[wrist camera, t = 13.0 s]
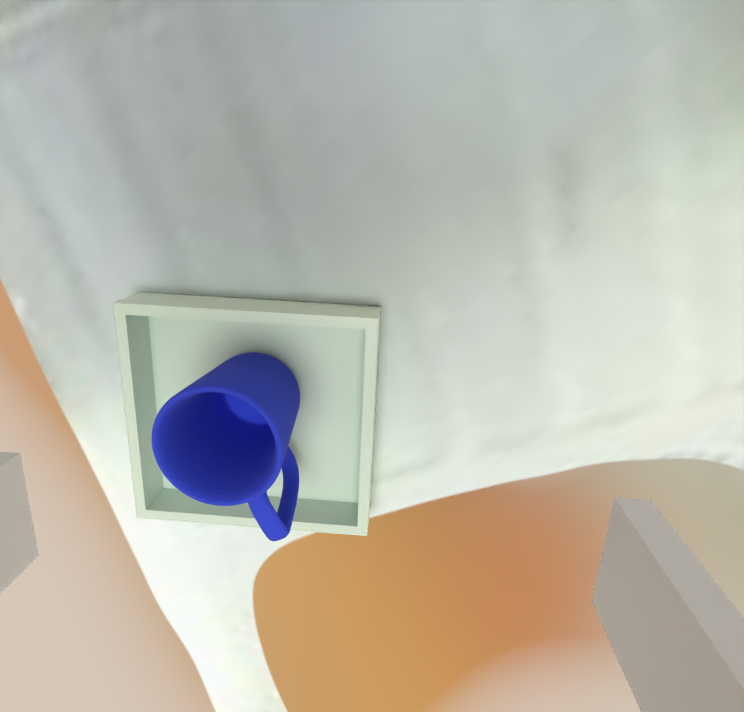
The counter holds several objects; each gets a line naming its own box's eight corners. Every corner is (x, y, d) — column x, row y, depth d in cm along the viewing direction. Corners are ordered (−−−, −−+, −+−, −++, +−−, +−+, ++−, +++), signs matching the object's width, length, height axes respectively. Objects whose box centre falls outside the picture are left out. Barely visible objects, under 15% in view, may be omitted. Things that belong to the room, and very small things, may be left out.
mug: (262, 487, 44) (222, 570, 34) (190, 364, 41) (124, 416, 31) (349, 454, 42) (333, 530, 33) (281, 322, 39) (241, 365, 30)
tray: (140, 292, 40) (113, 302, 36) (380, 306, 39) (377, 318, 35) (159, 490, 45) (136, 517, 42) (370, 506, 45) (367, 536, 41)
